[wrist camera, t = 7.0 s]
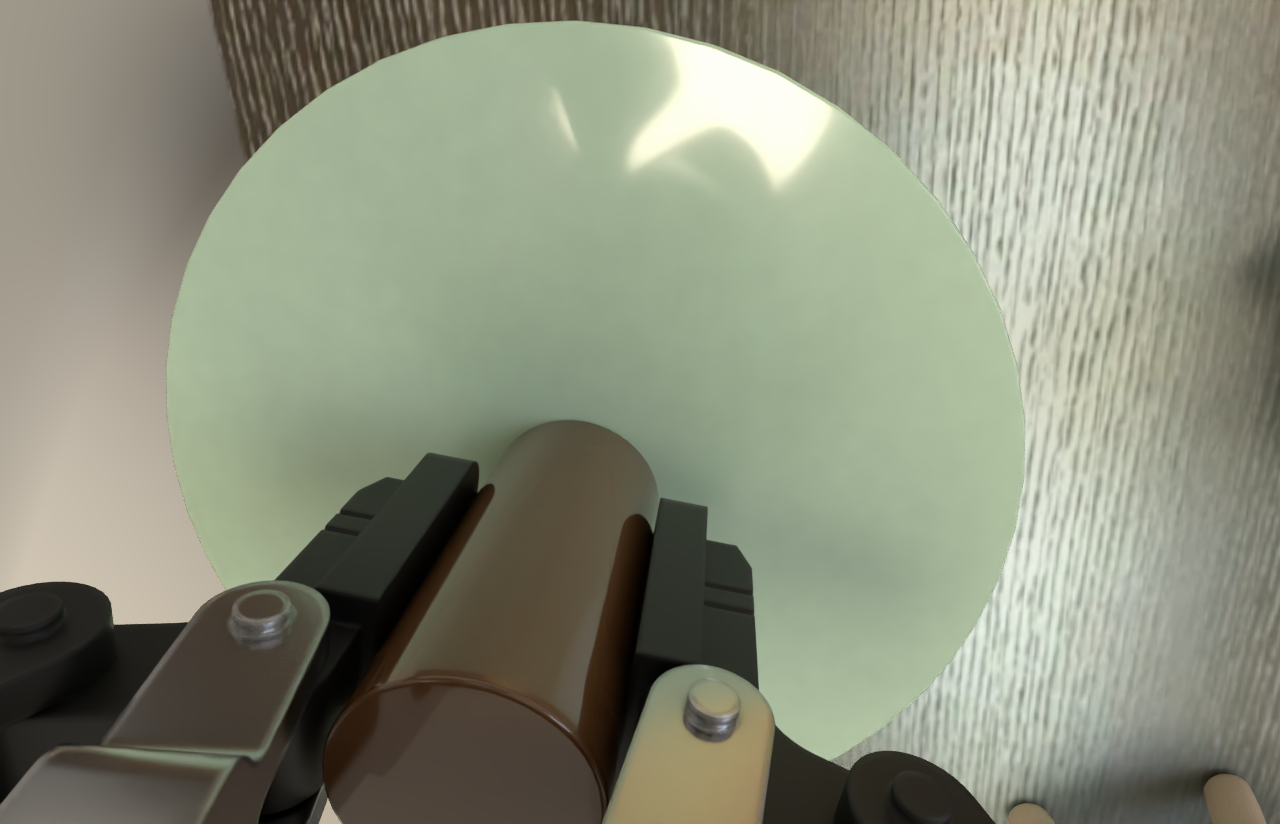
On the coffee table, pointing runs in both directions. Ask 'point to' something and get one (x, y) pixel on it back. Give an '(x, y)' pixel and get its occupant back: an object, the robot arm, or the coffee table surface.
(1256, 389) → the coffee table surface
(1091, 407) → the coffee table surface
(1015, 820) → the planter
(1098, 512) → the coffee table surface
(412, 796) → the lid
